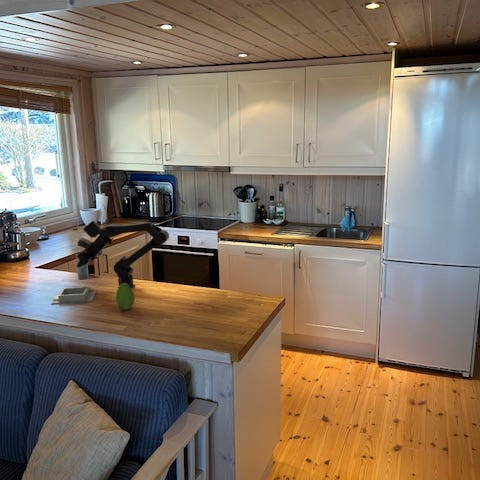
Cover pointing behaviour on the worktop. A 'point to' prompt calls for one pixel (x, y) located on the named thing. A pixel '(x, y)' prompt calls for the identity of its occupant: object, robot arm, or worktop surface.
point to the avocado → (125, 296)
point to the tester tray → (74, 295)
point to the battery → (91, 268)
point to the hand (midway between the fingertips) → (79, 265)
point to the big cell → (82, 271)
